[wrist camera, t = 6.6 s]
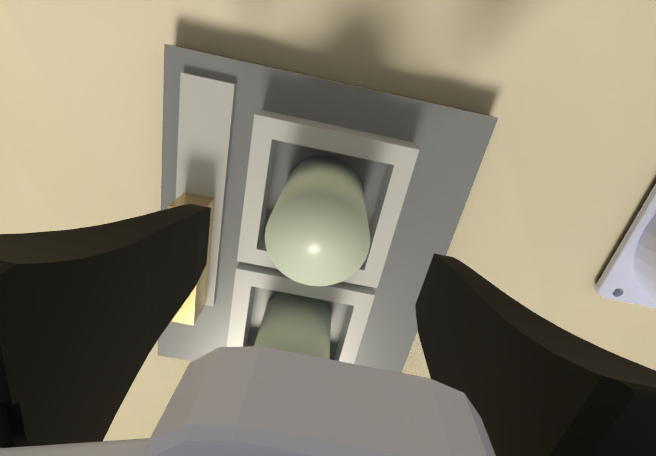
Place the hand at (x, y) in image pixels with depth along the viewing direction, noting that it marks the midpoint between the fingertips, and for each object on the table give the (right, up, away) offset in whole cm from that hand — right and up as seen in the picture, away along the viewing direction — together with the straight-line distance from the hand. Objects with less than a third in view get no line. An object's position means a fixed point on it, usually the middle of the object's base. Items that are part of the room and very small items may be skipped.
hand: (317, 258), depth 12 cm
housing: (-1, 0, +8) cm, 8 cm away
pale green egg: (0, +3, +5) cm, 6 cm away
